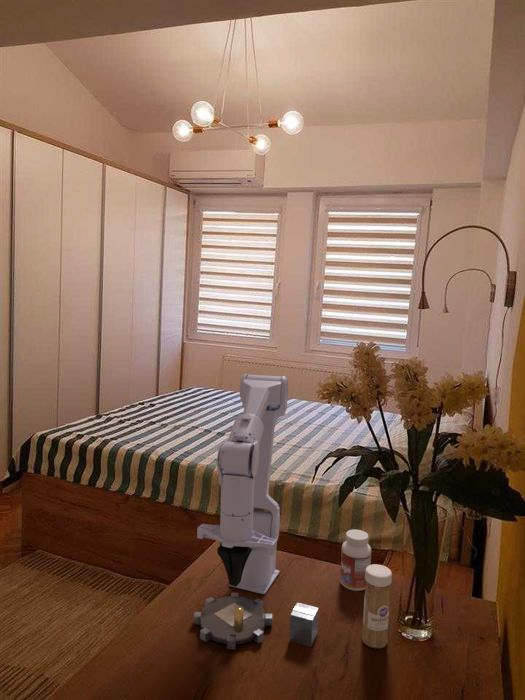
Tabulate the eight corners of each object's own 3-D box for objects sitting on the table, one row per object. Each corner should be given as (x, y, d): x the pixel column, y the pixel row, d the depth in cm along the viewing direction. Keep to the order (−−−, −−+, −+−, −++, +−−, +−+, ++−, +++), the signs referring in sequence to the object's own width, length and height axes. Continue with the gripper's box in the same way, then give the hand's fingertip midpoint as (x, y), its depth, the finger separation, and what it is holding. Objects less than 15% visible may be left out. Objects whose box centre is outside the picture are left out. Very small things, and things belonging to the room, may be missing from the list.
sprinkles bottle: (375, 653, 91) (380, 579, 89) (356, 638, 94) (360, 568, 93) (393, 643, 94) (397, 571, 92) (373, 629, 97) (377, 560, 96)
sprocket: (177, 621, 97) (178, 593, 96) (235, 591, 107) (236, 565, 107) (230, 661, 87) (230, 630, 87) (288, 623, 97) (289, 596, 97)
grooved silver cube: (296, 627, 97) (297, 601, 97) (317, 633, 96) (318, 607, 95) (289, 640, 93) (290, 614, 93) (311, 647, 92) (312, 619, 91)
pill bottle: (335, 577, 115) (338, 528, 113) (362, 574, 116) (364, 526, 115) (346, 593, 109) (348, 542, 107) (374, 590, 110) (376, 540, 109)
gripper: (189, 510, 91) (188, 584, 92) (267, 527, 85) (264, 605, 87) (208, 496, 97) (207, 565, 99) (282, 510, 92) (279, 583, 93)
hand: (235, 583), depth 93 cm, fingers closed
